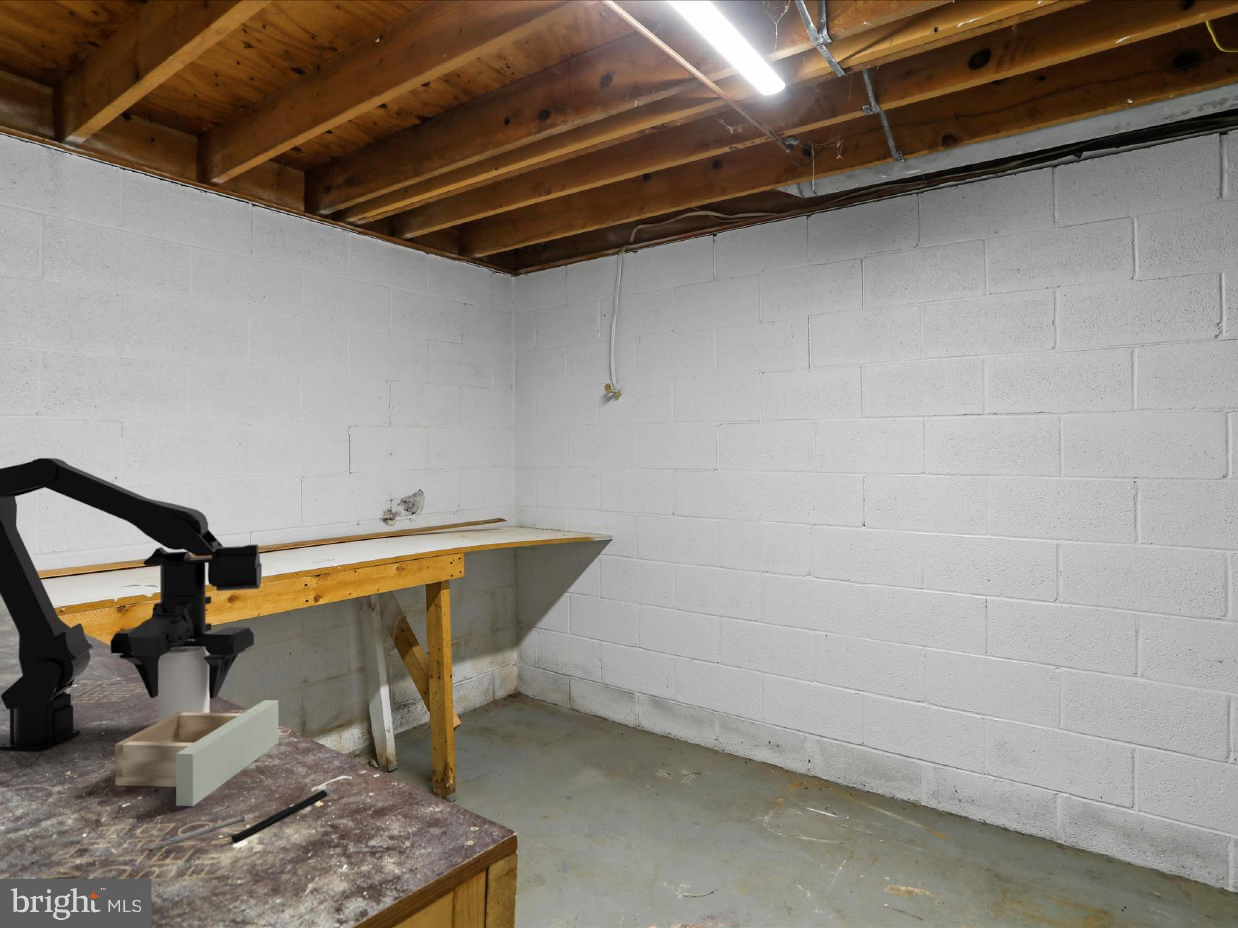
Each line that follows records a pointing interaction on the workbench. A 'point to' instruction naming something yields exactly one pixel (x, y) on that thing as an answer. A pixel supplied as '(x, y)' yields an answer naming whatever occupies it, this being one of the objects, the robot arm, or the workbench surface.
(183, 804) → the panel
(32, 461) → the robot arm
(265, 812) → the workbench surface
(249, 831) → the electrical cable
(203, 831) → the grey thin rod
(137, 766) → the wooden drawer box
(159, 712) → the can
